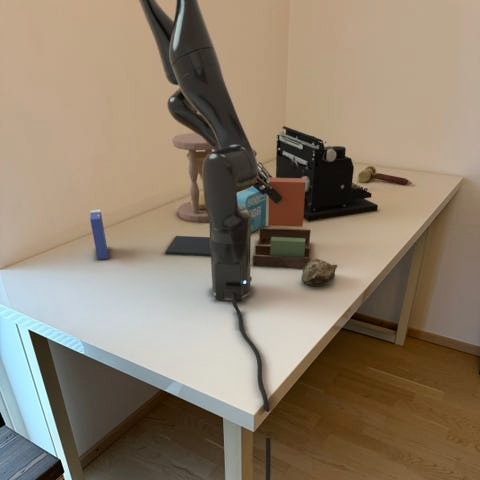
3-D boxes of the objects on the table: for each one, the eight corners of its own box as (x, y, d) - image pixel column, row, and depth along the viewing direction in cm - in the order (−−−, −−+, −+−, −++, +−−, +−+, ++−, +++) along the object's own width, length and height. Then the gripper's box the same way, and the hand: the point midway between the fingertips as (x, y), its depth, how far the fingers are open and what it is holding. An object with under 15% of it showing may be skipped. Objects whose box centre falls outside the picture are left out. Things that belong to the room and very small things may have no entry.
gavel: (416, 174, 189) (410, 180, 181) (413, 185, 191) (407, 192, 184) (366, 164, 197) (359, 170, 190) (364, 175, 200) (357, 181, 192)
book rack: (308, 268, 123) (309, 253, 121) (253, 266, 125) (253, 250, 122) (309, 244, 137) (310, 229, 135) (259, 241, 139) (259, 227, 137)
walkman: (107, 258, 130) (100, 217, 123) (97, 259, 129) (89, 218, 123) (107, 248, 136) (100, 208, 130) (97, 249, 135) (90, 208, 129)
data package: (246, 235, 143) (245, 196, 137) (234, 232, 146) (233, 194, 139) (268, 224, 151) (269, 187, 145) (257, 221, 154) (257, 185, 147)
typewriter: (377, 210, 161) (388, 134, 148) (308, 221, 153) (313, 141, 140) (330, 187, 186) (336, 120, 173) (268, 195, 178) (270, 125, 164)
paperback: (303, 266, 124) (305, 241, 121) (270, 264, 125) (270, 240, 122) (303, 262, 126) (305, 238, 123) (270, 260, 127) (271, 236, 124)
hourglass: (198, 202, 171) (194, 130, 158) (238, 210, 163) (237, 135, 150) (168, 216, 158) (160, 139, 145) (210, 225, 151) (207, 145, 137)
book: (302, 227, 126) (305, 182, 120) (265, 225, 127) (266, 181, 121) (303, 221, 130) (305, 178, 123) (267, 220, 131) (267, 177, 124)
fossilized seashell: (315, 285, 110) (346, 281, 115) (311, 257, 110) (342, 254, 115) (296, 289, 116) (326, 285, 121) (291, 263, 116) (322, 260, 121)
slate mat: (235, 257, 130) (235, 254, 129) (165, 254, 132) (165, 251, 132) (240, 241, 140) (240, 238, 139) (176, 238, 142) (175, 235, 142)
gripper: (229, 155, 128) (272, 200, 133) (220, 168, 116) (267, 216, 121) (248, 135, 124) (291, 181, 129) (240, 146, 112) (289, 197, 117)
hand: (279, 198), depth 125 cm, fingers closed on book, 4 cm apart
